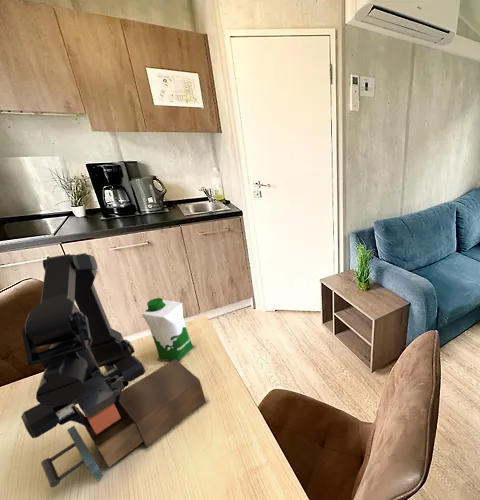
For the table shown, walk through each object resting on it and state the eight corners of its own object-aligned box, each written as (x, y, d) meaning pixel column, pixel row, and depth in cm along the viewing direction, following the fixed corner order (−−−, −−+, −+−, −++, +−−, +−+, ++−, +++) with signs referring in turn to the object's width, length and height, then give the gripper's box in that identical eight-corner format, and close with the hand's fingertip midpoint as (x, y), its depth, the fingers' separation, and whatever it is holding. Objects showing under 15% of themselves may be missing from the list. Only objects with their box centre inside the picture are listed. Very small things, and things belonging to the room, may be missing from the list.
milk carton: (175, 341, 99) (159, 293, 91) (197, 345, 97) (184, 296, 89) (154, 360, 91) (135, 309, 83) (179, 364, 89) (162, 313, 81)
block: (89, 423, 63) (81, 409, 61) (113, 407, 66) (106, 394, 65) (96, 434, 61) (88, 420, 59) (121, 418, 64) (114, 404, 62)
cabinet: (147, 447, 67) (136, 423, 63) (125, 418, 73) (114, 395, 70) (206, 402, 78) (199, 379, 74) (182, 380, 84) (175, 358, 81)
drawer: (62, 506, 56) (48, 487, 53) (47, 469, 62) (33, 450, 59) (164, 429, 70) (156, 410, 67) (143, 405, 76) (136, 387, 73)
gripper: (17, 425, 46) (57, 481, 52) (146, 354, 60) (165, 405, 66) (3, 391, 51) (41, 445, 58) (124, 333, 65) (143, 382, 72)
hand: (103, 417), depth 63 cm, fingers closed on block, 4 cm apart
